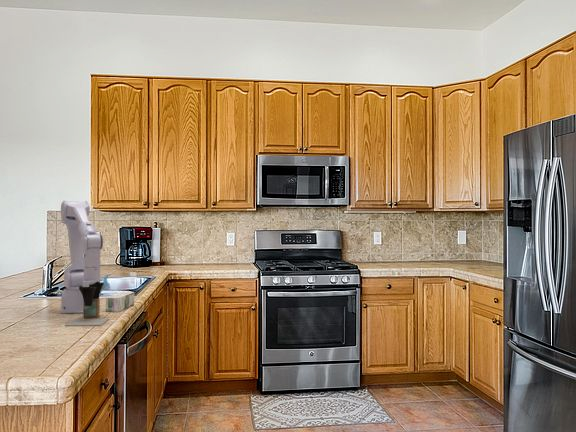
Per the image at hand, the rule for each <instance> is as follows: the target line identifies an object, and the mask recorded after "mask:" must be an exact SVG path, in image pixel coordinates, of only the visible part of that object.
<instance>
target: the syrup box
mask: <svg viewBox="0 0 576 432" xmlns="http://www.w3.org/2000/svg"><path fill="white" fill-rule="evenodd" d="M134 305H135V291H121V292H120V291H119V292H118V293H115V294H112V295H108V296H106V297H105V312H113V313H114V312H117V313H119V312H121V311H124V310H126V309H128V308H131V307H134Z"/></svg>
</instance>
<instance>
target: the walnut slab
mask: <svg viewBox="0 0 576 432" xmlns="http://www.w3.org/2000/svg"><path fill="white" fill-rule="evenodd" d="M100 300H101V299H100V298H99V299H93V302H92V306H85V304H84V300H83V313H82V314H83V315H82V319H101V318H100V312H101V311H100V310H101V309H100V308H101V307H100V306H101V304H100V303H101V302H100Z"/></svg>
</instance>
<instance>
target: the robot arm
mask: <svg viewBox="0 0 576 432" xmlns="http://www.w3.org/2000/svg"><path fill="white" fill-rule="evenodd" d="M90 211H91V205H90V203H89V201H87V200H86V201H78V200H77V201H76V200H75V201H74V200H71V201H70V200H69V201H68V200H62V202H61V205H60V215H61V216H60V217H61V222H62V224H64V225H66V230H67V236H68V246H69V257H70V265H68V266H67V267H66V268H65V270H64V271H63V274H64V275H63V285H64V287H65V288H64V289H62V291H61V299H60V300H61V302H60V303H61V304H60V307H61V308H60V314H83V300H84V304H85V306H92V302H93V299H100V295H101V293H102V292H101V289H102V287H103V285H104V283H103V281H104V278H102V277H101V250H102V249H103V246H104V237H103V235H102V234H101V233H99V232H98V231H97V229H96V227H95V224H94V223H93V222H92V221H90V219H89V214H90ZM99 282H100V283H99ZM102 290H103V289H102ZM100 292H101V293H100Z"/></svg>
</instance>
